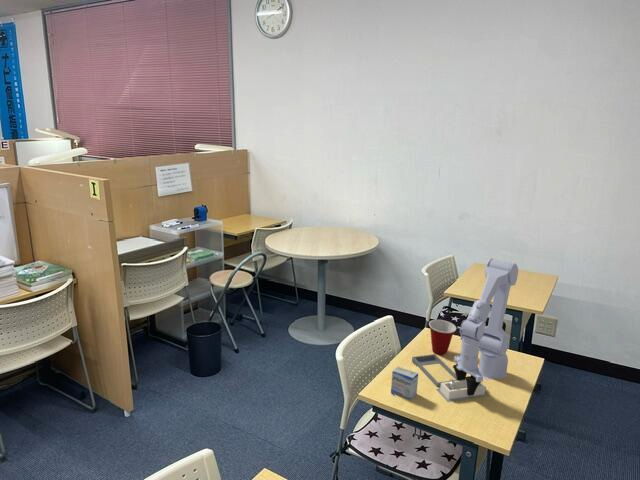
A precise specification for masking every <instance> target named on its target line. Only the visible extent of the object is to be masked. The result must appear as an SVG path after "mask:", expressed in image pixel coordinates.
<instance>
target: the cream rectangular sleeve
mask: <svg viewBox="0 0 640 480" xmlns="http://www.w3.org/2000/svg"><path fill="white" fill-rule="evenodd" d="M443 382H444V383H441V387H439V389H440V391H441V392H442V393H443V394H444V395H445V396H446V397H447V399H448V400H449V399H456V398H463V397H470V396H468V394H467V382H466V379H465V380H458V381H454V382H455V383H456V384H455V389H454V390H450V382H445V381H443ZM485 392H487V387H486V385H485V384H484V383H482V382H481V383H480V384H479V385H478V387H477V389H476V391H475V393H474V395H471V396H476V395H483V394H485Z"/></svg>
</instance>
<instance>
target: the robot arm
mask: <svg viewBox="0 0 640 480" xmlns="http://www.w3.org/2000/svg"><path fill="white" fill-rule="evenodd" d="M518 274H519V266H518V265H517V263H512V262H507V261H503V260H498V259H494V258H489V259H488V260H487V261H486V263H485V266H484V276H485V278H486V280H485V282H484V285H483V288H482V291H481V294H480V297H479V299H478V300H475V301H474V302H473V304H472V307H471V309H470V312H469V313H468V316H467V318H466V319H463V320H462V322H461V324H460V327H459V334H460V340H461V345H460V346H461V348H460V355H454V356H453V357H454V358H453V362H455V363H456V364H453V365H452V368H453V371H454V373H455V374H456V377H457V381H458V380H466V382H467V394H468V396H471V395H474V393H475V391H476V389H477V387H478V385H479V384H480V383H482V382H483V381H484V380H493V379H501V378H507V377H508V375H507V373H508V371H507V370H508V364H509V359H508V355H507V351H508V347H509V335H508V333H507V332H506V331H505V330H504V329H503V324H504V320H505V316H506V309H507V306H508V299H509V295H510V290H511V287H512V286H516V283H517V279H518V276H519V275H518ZM491 302H492V303H491ZM488 317H489V319H488ZM487 320H488V325H487V324H486V321H487ZM486 325H487V326H486ZM479 352H480V356H479ZM478 362H479V363H478ZM467 374H469V376H467Z"/></svg>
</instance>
